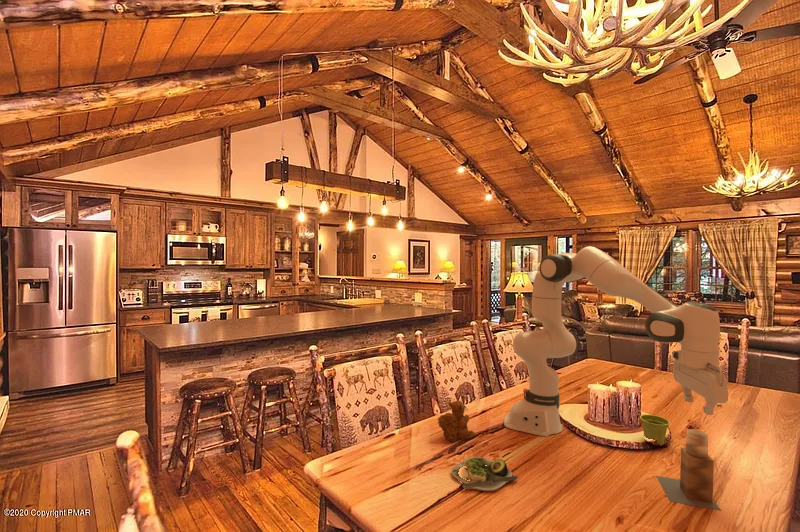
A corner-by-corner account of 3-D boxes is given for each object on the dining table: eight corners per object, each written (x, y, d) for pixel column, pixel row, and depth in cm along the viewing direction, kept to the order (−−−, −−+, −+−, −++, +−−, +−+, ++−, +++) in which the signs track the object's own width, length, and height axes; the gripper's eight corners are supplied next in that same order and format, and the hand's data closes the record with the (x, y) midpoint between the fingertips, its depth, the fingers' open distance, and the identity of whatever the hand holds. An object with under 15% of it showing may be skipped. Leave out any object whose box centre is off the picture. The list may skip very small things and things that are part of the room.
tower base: (687, 498, 113) (687, 478, 113) (680, 487, 119) (680, 467, 118) (712, 503, 111) (713, 482, 111) (704, 491, 117) (704, 471, 116)
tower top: (687, 478, 113) (688, 457, 113) (680, 467, 118) (681, 447, 118) (713, 482, 111) (713, 460, 111) (704, 471, 116) (705, 450, 116)
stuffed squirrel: (476, 435, 153) (477, 401, 152) (454, 448, 143) (455, 411, 142) (455, 427, 160) (456, 395, 159) (433, 439, 150) (433, 404, 149)
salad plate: (486, 506, 110) (486, 489, 110) (438, 479, 123) (438, 464, 123) (523, 480, 123) (523, 465, 123) (475, 458, 136) (476, 444, 136)
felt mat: (669, 502, 112) (669, 501, 112) (655, 476, 125) (655, 475, 125) (721, 512, 108) (721, 510, 108) (701, 484, 121) (701, 483, 121)
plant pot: (674, 449, 143) (674, 425, 143) (645, 447, 145) (645, 423, 145) (662, 438, 152) (663, 415, 152) (635, 435, 154) (636, 413, 154)
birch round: (686, 454, 114) (687, 434, 114) (685, 448, 118) (686, 427, 118) (708, 459, 111) (709, 438, 111) (706, 452, 115) (707, 432, 115)
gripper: (736, 370, 103) (735, 423, 103) (691, 351, 123) (690, 396, 124) (709, 369, 104) (708, 421, 104) (669, 350, 124) (667, 394, 125)
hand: (698, 407), depth 114 cm, fingers open, 8 cm apart
